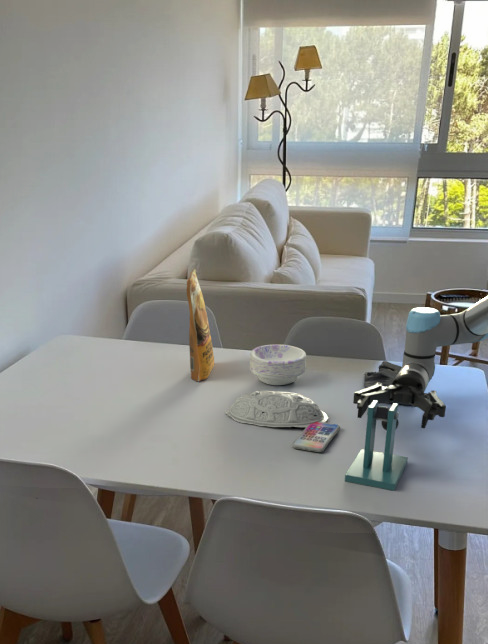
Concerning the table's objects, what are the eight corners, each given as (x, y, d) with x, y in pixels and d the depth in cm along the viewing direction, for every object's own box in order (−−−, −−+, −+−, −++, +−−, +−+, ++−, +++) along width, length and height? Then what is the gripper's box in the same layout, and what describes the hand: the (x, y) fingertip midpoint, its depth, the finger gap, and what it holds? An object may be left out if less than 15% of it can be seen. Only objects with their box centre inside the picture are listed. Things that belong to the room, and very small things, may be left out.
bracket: (360, 455, 152) (366, 390, 146) (407, 463, 149) (415, 398, 142) (344, 481, 141) (350, 413, 135) (394, 490, 138) (402, 421, 132)
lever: (381, 431, 152) (384, 414, 152) (397, 433, 151) (401, 417, 151) (370, 420, 139) (374, 402, 139) (388, 423, 137) (392, 405, 138)
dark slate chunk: (354, 401, 180) (356, 384, 178) (365, 373, 199) (367, 357, 197) (416, 408, 176) (418, 390, 174) (421, 379, 195) (423, 363, 193)
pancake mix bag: (181, 383, 192) (178, 279, 180) (195, 361, 209) (193, 265, 197) (205, 384, 191) (203, 280, 179) (217, 362, 208) (216, 266, 196)
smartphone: (290, 444, 155) (311, 419, 167) (290, 448, 155) (311, 423, 167) (322, 449, 152) (341, 424, 164) (322, 454, 152) (341, 428, 165)
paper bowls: (275, 393, 185) (276, 365, 182) (238, 378, 196) (238, 350, 192) (316, 381, 194) (318, 353, 190) (279, 367, 204) (280, 340, 201)
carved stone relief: (321, 430, 161) (321, 402, 159) (217, 424, 168) (216, 396, 166) (333, 412, 175) (333, 386, 173) (236, 407, 182) (236, 382, 180)
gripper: (461, 407, 164) (449, 442, 147) (356, 392, 173) (333, 423, 156) (466, 377, 161) (454, 409, 144) (359, 363, 170) (335, 392, 152)
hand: (391, 417), depth 150 cm, fingers open, 13 cm apart
